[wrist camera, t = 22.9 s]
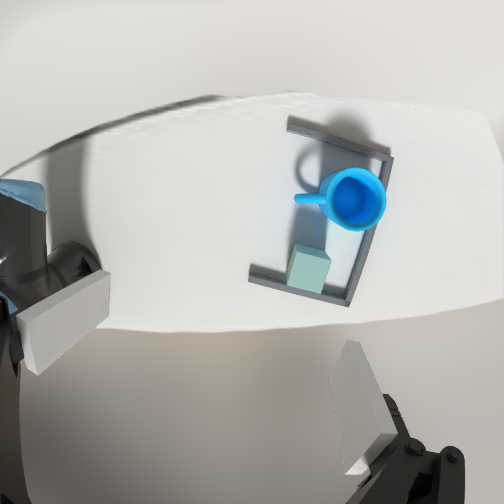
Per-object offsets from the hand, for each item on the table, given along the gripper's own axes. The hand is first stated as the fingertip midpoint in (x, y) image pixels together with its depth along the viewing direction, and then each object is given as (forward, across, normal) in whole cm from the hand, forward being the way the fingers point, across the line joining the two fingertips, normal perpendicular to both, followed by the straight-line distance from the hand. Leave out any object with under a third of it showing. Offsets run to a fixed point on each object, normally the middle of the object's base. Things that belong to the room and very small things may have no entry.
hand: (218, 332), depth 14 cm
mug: (+31, +9, +8) cm, 33 cm away
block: (+31, +8, -2) cm, 32 cm away
